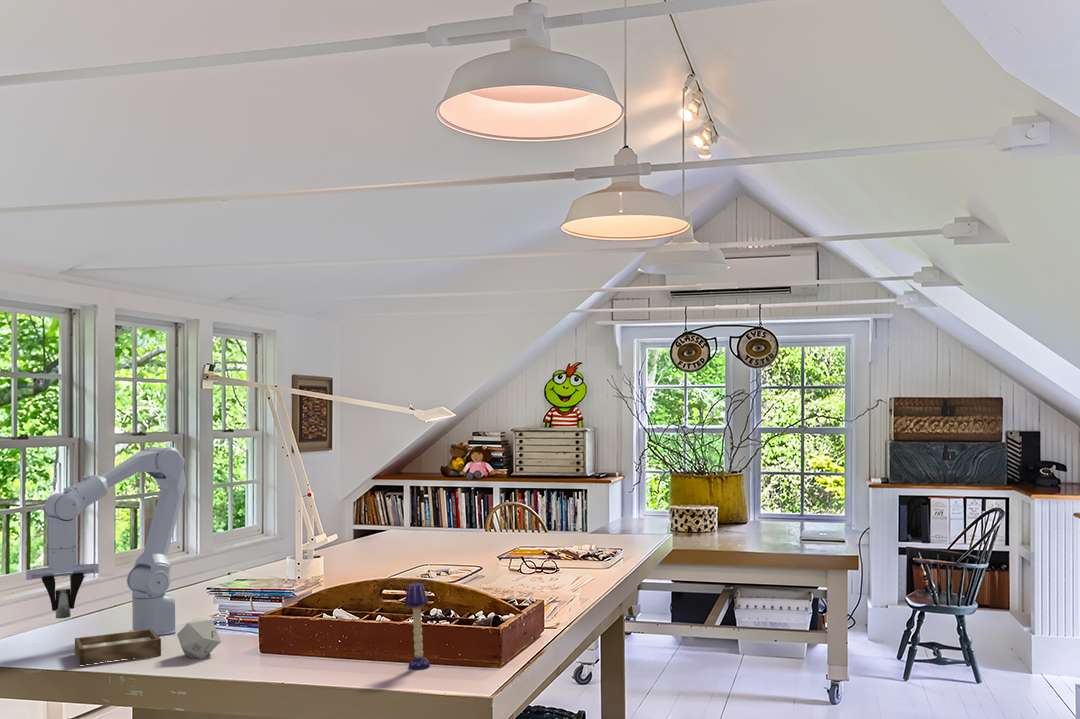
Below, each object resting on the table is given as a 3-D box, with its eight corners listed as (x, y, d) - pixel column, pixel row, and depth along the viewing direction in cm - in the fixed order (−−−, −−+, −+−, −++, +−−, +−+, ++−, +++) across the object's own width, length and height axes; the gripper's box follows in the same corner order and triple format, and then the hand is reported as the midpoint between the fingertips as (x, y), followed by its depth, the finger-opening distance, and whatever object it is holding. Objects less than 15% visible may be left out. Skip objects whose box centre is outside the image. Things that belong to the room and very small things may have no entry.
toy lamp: (419, 671, 202) (417, 586, 203) (400, 668, 204) (399, 584, 205) (434, 665, 206) (432, 582, 207) (416, 662, 209) (414, 581, 209)
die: (179, 666, 212) (207, 629, 213) (162, 640, 217) (189, 604, 218) (208, 671, 219) (235, 635, 219) (191, 646, 224) (217, 611, 224)
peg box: (152, 644, 230) (152, 628, 230) (161, 655, 219) (160, 639, 219) (74, 654, 222) (74, 638, 222) (80, 666, 211) (79, 649, 211)
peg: (69, 614, 227) (69, 588, 228) (71, 617, 225) (70, 590, 225) (55, 616, 226) (55, 589, 226) (56, 619, 223) (56, 591, 224)
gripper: (96, 542, 233) (96, 602, 232) (25, 548, 226) (25, 609, 225) (99, 546, 227) (99, 607, 226) (26, 552, 220) (27, 615, 219)
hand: (63, 609), depth 225 cm, fingers closed on peg, 3 cm apart
